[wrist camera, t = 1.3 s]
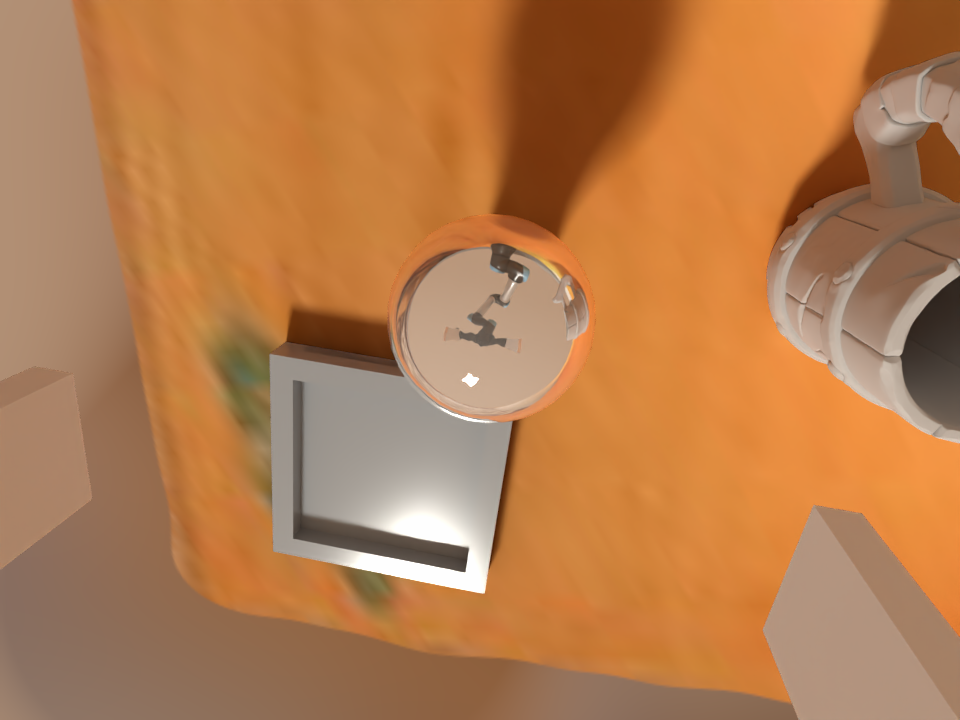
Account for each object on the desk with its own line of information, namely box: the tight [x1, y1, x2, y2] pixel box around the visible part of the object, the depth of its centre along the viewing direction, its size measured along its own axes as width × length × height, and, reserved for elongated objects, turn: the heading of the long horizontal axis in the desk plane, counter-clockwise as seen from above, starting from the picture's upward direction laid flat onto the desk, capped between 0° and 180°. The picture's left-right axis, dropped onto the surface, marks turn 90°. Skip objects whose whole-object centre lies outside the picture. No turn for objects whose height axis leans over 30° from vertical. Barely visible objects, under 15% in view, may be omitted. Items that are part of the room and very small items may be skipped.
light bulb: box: [388, 214, 596, 423], centre depth 22 cm, size 7×7×12 cm
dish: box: [270, 342, 513, 594], centre depth 31 cm, size 12×12×2 cm
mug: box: [766, 52, 960, 443], centre depth 19 cm, size 8×12×12 cm, turn 13°
